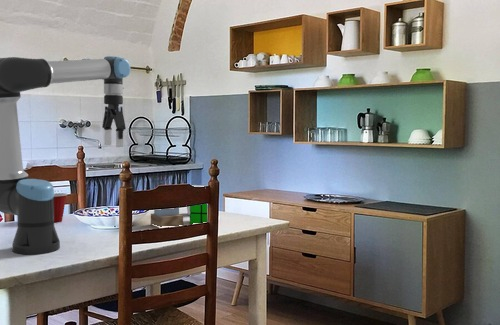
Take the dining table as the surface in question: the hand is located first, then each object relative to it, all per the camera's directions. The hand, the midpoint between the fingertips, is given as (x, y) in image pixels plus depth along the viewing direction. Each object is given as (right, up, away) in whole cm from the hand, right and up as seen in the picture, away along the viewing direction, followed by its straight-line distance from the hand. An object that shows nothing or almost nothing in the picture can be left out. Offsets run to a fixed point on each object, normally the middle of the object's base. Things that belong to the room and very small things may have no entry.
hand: (113, 146), depth 231 cm
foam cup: (+31, -31, +28) cm, 52 cm away
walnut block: (+22, -33, +1) cm, 40 cm away
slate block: (+22, -28, +1) cm, 36 cm away
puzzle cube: (+37, -33, +9) cm, 50 cm away
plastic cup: (-27, -32, +6) cm, 42 cm away
